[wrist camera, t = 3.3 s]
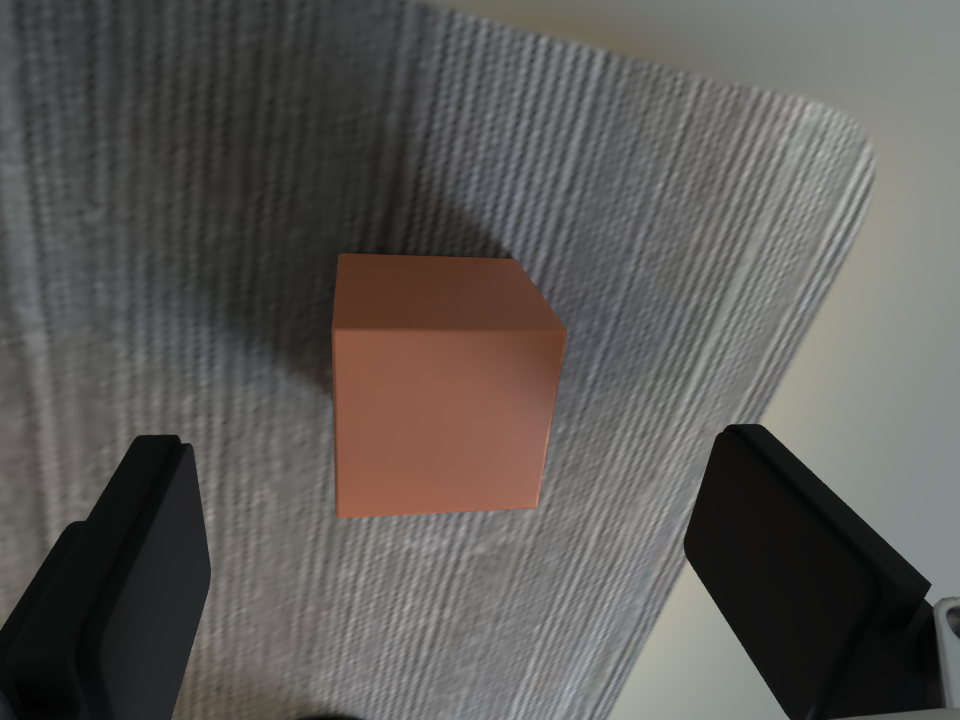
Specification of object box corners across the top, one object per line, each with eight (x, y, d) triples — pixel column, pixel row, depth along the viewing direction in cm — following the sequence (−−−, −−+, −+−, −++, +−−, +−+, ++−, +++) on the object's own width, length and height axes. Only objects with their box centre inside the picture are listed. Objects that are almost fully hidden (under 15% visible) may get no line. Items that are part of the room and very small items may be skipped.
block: (341, 408, 16) (335, 519, 13) (338, 251, 14) (331, 328, 11) (498, 405, 17) (538, 510, 13) (516, 257, 15) (569, 330, 11)
